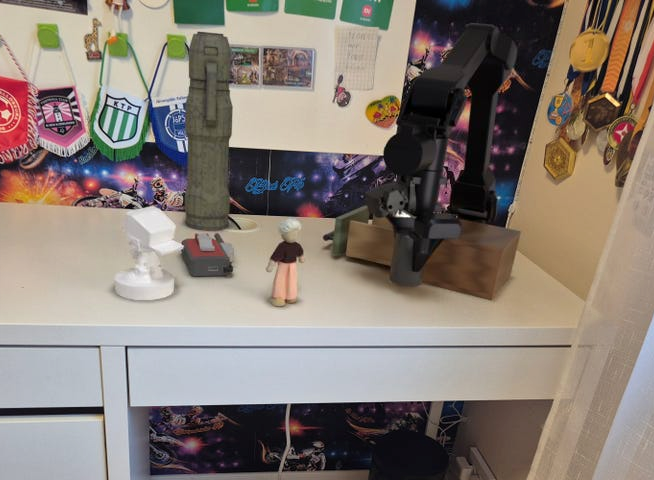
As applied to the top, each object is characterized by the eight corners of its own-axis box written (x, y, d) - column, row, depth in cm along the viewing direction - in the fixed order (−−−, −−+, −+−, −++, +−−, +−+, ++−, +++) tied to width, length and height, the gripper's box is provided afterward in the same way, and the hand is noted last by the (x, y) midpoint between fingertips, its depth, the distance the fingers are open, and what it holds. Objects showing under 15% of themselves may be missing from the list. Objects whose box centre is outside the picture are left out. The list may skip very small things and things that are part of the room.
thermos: (190, 233, 124) (191, 31, 108) (180, 216, 134) (180, 29, 118) (234, 232, 127) (242, 35, 111) (222, 216, 137) (227, 34, 121)
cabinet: (397, 276, 111) (404, 228, 108) (423, 257, 123) (431, 213, 119) (491, 300, 105) (503, 249, 101) (510, 277, 117) (521, 231, 113)
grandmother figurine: (281, 311, 93) (288, 225, 87) (259, 304, 95) (265, 219, 89) (308, 297, 99) (316, 216, 93) (288, 290, 101) (294, 210, 95)
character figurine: (144, 275, 101) (142, 199, 96) (191, 290, 97) (192, 212, 92) (102, 290, 94) (97, 209, 89) (151, 306, 90) (149, 223, 85)
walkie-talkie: (244, 278, 104) (222, 242, 121) (246, 252, 102) (222, 218, 119) (190, 279, 101) (174, 242, 118) (190, 252, 99) (174, 218, 116)
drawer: (313, 250, 118) (316, 213, 115) (343, 235, 129) (347, 201, 126) (411, 274, 111) (418, 235, 108) (435, 256, 121) (441, 220, 118)
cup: (395, 273, 108) (403, 226, 104) (426, 280, 106) (434, 233, 102) (384, 281, 104) (391, 233, 100) (415, 289, 102) (424, 240, 98)
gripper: (352, 154, 102) (341, 248, 109) (402, 179, 86) (385, 287, 94) (415, 156, 105) (401, 248, 113) (474, 181, 90) (452, 285, 97)
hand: (407, 265), depth 104 cm, fingers closed on cup, 5 cm apart
